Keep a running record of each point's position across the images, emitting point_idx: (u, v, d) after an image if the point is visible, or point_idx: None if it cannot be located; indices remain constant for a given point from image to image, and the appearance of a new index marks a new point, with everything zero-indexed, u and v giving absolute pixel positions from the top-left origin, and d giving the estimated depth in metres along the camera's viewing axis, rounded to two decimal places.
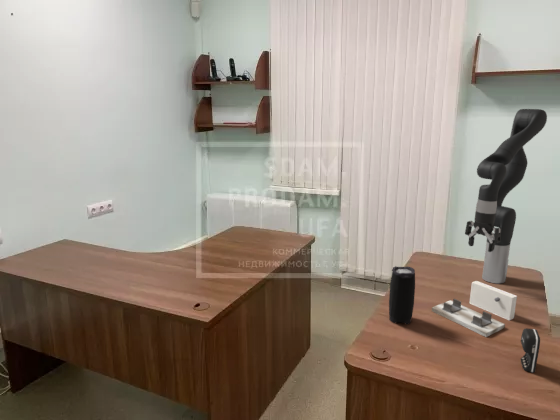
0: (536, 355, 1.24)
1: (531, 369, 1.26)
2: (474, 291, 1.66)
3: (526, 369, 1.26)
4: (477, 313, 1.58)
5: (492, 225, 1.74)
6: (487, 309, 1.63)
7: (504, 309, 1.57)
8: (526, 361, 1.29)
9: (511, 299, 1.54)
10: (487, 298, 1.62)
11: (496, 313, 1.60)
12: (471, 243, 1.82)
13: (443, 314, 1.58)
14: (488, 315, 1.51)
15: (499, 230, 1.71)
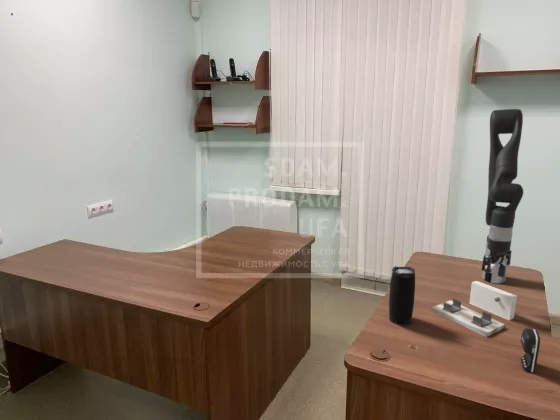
0: (536, 355, 1.24)
1: (531, 369, 1.26)
2: (474, 291, 1.66)
3: (526, 369, 1.26)
4: (477, 313, 1.58)
5: None
6: (487, 309, 1.63)
7: (504, 309, 1.57)
8: (526, 361, 1.29)
9: (511, 299, 1.54)
10: (487, 298, 1.62)
11: (496, 313, 1.60)
12: None
13: (443, 314, 1.58)
14: (488, 315, 1.51)
15: None
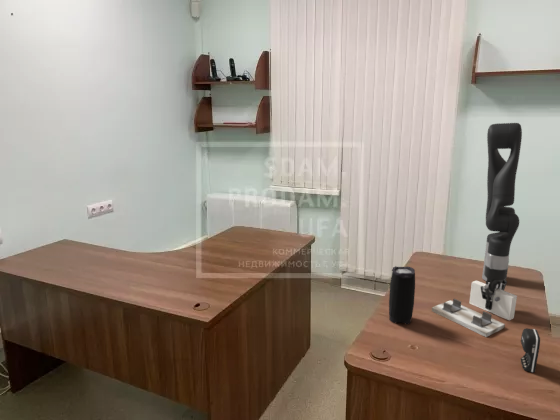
0: (536, 355, 1.24)
1: (531, 369, 1.26)
2: (474, 291, 1.66)
3: (526, 369, 1.26)
4: (477, 313, 1.58)
5: None
6: (487, 309, 1.63)
7: (504, 308, 1.57)
8: (526, 361, 1.29)
9: (511, 299, 1.54)
10: None
11: (496, 313, 1.60)
12: None
13: (443, 314, 1.58)
14: (488, 315, 1.51)
15: None
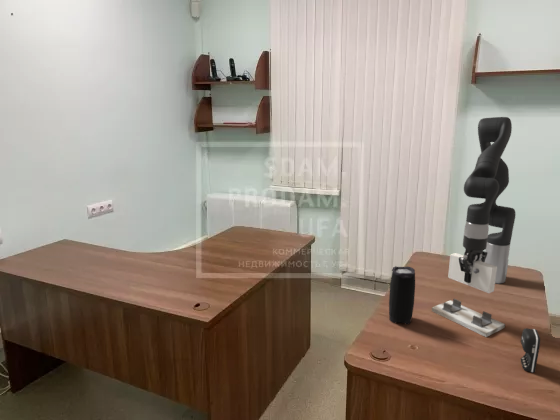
0: (536, 355, 1.24)
1: (531, 369, 1.26)
2: (453, 264, 1.56)
3: (526, 369, 1.26)
4: (477, 313, 1.58)
5: None
6: (466, 282, 1.52)
7: (483, 281, 1.47)
8: (526, 361, 1.29)
9: (491, 270, 1.44)
10: None
11: (475, 286, 1.50)
12: None
13: (443, 314, 1.58)
14: (488, 315, 1.51)
15: None
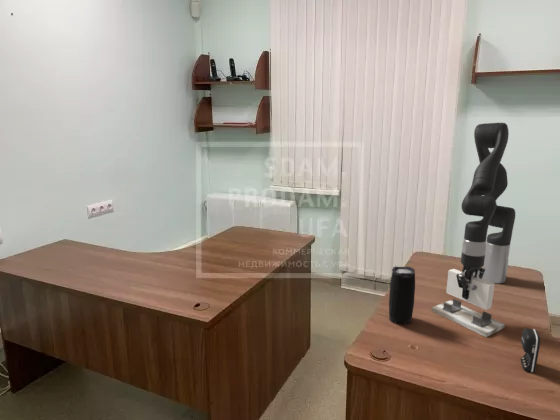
0: (536, 355, 1.24)
1: (531, 369, 1.26)
2: (451, 280, 1.58)
3: (526, 369, 1.26)
4: (477, 313, 1.58)
5: None
6: None
7: (481, 297, 1.48)
8: (526, 361, 1.29)
9: (488, 287, 1.45)
10: None
11: (473, 302, 1.51)
12: None
13: (443, 314, 1.58)
14: (488, 315, 1.51)
15: None
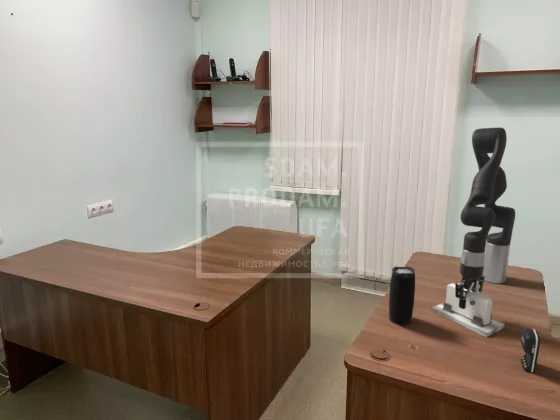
0: (536, 355, 1.24)
1: (531, 369, 1.26)
2: (450, 294, 1.59)
3: (526, 369, 1.26)
4: None
5: None
6: (463, 313, 1.56)
7: (479, 313, 1.50)
8: (526, 361, 1.29)
9: (486, 303, 1.47)
10: None
11: (471, 317, 1.53)
12: None
13: (443, 314, 1.58)
14: None
15: None
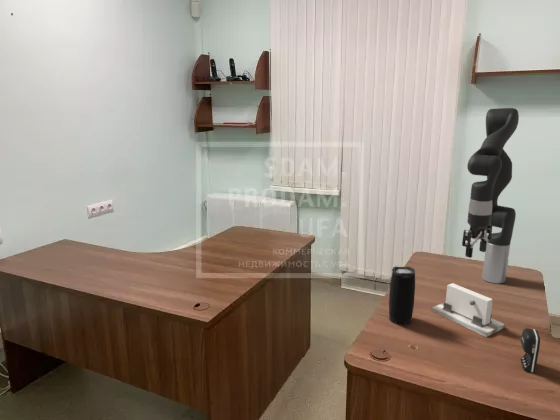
0: (536, 355, 1.24)
1: (531, 369, 1.26)
2: (450, 294, 1.59)
3: (526, 369, 1.26)
4: None
5: None
6: (463, 313, 1.56)
7: (479, 313, 1.50)
8: (526, 361, 1.29)
9: (486, 303, 1.47)
10: (462, 301, 1.55)
11: (471, 317, 1.53)
12: None
13: (443, 314, 1.58)
14: None
15: None
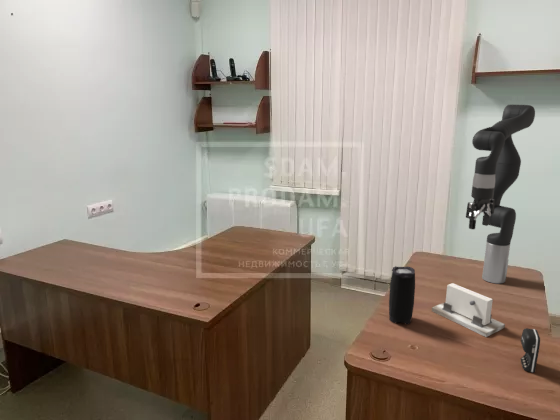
0: (536, 355, 1.24)
1: (531, 369, 1.26)
2: (450, 294, 1.59)
3: (526, 369, 1.26)
4: None
5: None
6: (463, 313, 1.56)
7: (479, 313, 1.50)
8: (526, 361, 1.29)
9: (486, 303, 1.47)
10: (462, 301, 1.55)
11: (471, 317, 1.53)
12: None
13: (443, 314, 1.58)
14: None
15: None
